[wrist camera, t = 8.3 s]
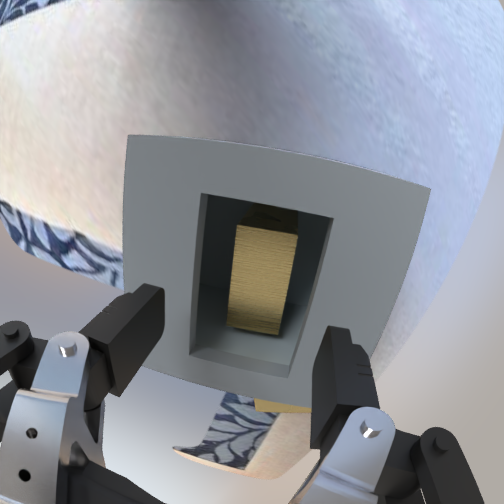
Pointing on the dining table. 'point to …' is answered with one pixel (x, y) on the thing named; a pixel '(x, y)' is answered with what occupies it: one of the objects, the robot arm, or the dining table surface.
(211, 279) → the grey hollow block
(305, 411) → the block
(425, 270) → the dining table surface
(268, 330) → the gold flat square block
